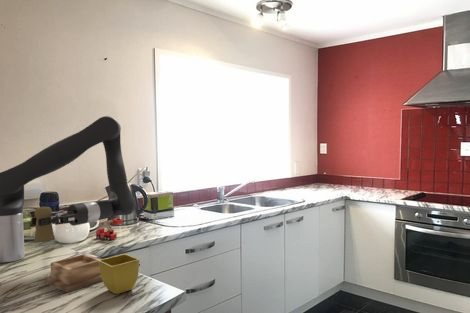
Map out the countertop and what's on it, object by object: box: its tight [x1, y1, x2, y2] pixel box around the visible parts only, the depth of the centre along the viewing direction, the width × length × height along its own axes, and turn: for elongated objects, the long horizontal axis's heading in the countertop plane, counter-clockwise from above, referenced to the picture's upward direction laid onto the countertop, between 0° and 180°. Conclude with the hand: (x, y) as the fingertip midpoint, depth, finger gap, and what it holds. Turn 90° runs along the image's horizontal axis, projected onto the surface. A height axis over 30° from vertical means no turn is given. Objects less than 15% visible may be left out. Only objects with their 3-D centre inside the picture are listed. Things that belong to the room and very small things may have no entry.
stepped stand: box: [43, 254, 103, 294], centre depth 116 cm, size 14×14×6 cm
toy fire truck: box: [95, 217, 123, 241], centre depth 167 cm, size 3×14×10 cm, turn 65°
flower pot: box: [98, 253, 140, 295], centre depth 107 cm, size 9×9×9 cm
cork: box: [33, 206, 55, 243], centre depth 123 cm, size 6×6×11 cm
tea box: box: [142, 190, 175, 220], centre depth 217 cm, size 15×10×15 cm
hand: (35, 221), depth 121 cm, fingers closed on cork, 4 cm apart
